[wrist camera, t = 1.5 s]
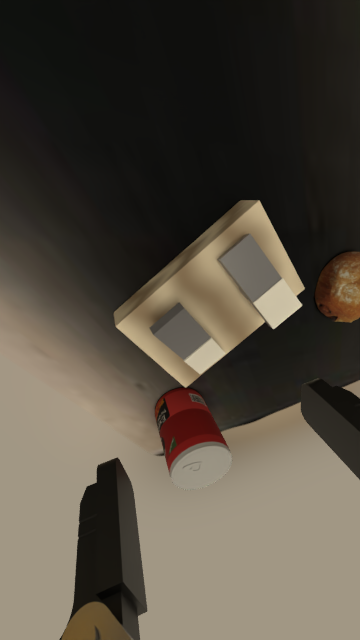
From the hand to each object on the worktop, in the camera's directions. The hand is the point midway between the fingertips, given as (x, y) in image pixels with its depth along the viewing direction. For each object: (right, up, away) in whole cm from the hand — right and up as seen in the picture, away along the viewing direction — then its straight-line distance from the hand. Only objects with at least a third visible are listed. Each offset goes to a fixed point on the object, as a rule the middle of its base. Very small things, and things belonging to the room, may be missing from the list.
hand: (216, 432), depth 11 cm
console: (+2, +8, +23) cm, 25 cm away
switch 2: (+7, +9, +19) cm, 22 cm away
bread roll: (+23, +10, +29) cm, 39 cm away
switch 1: (-1, +3, +19) cm, 20 cm away
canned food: (-2, -9, +30) cm, 32 cm away
